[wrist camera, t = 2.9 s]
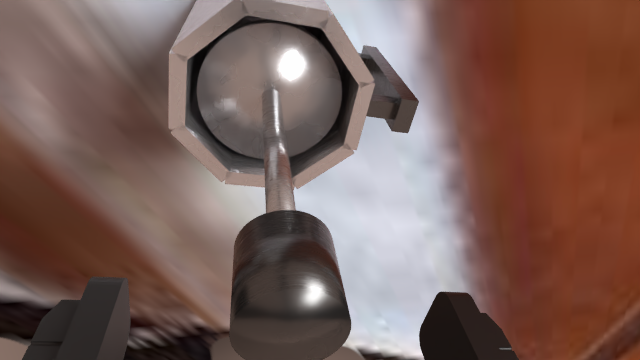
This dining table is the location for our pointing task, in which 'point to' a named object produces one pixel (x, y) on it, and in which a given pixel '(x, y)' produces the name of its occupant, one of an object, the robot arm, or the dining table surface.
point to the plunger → (278, 188)
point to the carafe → (354, 68)
